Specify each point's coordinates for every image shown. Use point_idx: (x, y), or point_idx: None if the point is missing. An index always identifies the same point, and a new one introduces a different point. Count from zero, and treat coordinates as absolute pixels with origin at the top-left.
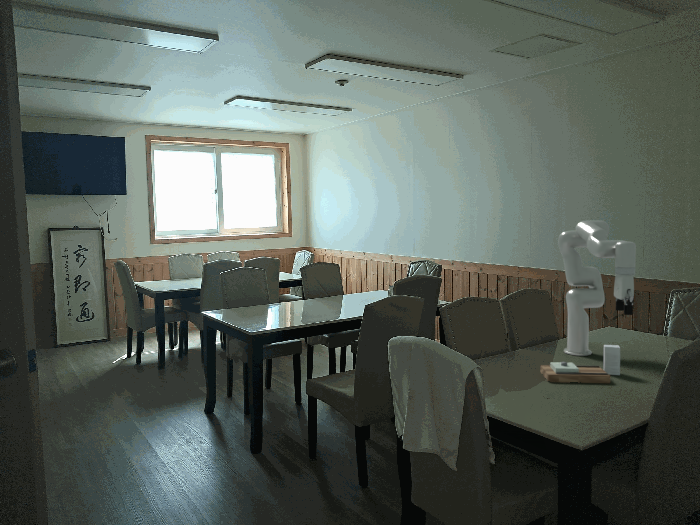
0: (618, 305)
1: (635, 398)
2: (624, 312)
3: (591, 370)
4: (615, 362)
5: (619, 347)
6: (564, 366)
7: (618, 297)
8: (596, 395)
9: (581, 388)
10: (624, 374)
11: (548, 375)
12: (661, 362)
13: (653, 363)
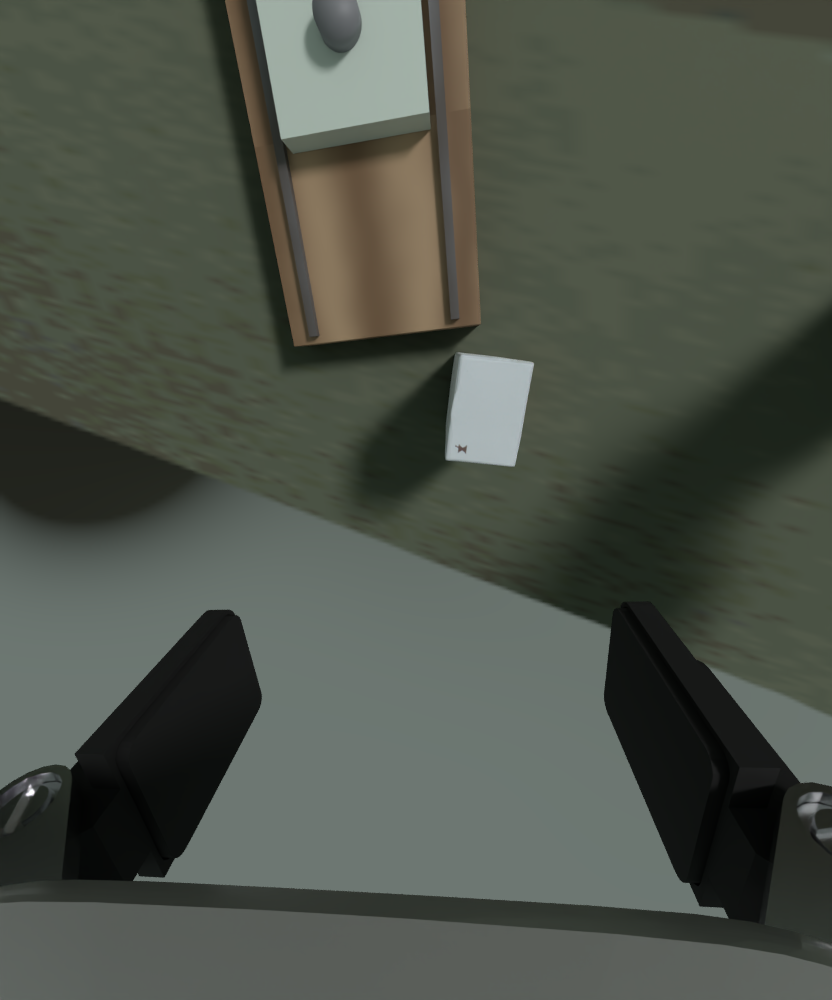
0: (652, 706)
1: (128, 402)
2: (190, 632)
3: (379, 257)
4: (448, 413)
5: (449, 456)
6: (309, 22)
7: (127, 959)
8: (97, 231)
9: (177, 167)
10: None
11: None
12: None
13: None
